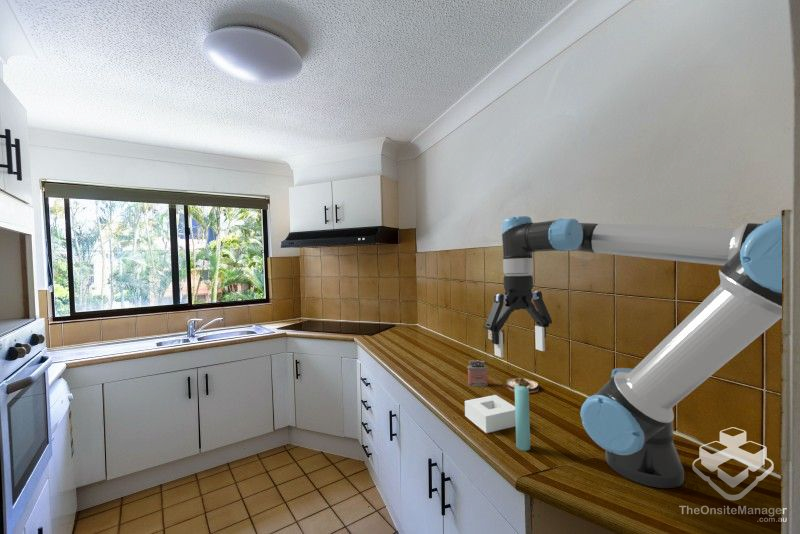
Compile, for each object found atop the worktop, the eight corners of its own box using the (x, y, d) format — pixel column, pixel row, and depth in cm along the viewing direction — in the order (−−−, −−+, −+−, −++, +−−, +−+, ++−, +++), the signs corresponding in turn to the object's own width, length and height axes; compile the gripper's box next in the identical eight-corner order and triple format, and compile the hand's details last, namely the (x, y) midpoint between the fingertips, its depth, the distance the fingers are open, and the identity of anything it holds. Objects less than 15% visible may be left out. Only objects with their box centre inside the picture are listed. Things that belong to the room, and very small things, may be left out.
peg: (533, 449, 88) (531, 389, 88) (522, 452, 87) (520, 391, 87) (524, 442, 92) (522, 385, 92) (513, 445, 91) (511, 387, 90)
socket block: (519, 425, 101) (519, 409, 101) (486, 433, 97) (485, 416, 97) (495, 409, 113) (495, 394, 113) (465, 415, 109) (464, 400, 109)
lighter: (487, 383, 137) (486, 359, 137) (488, 386, 134) (487, 361, 134) (467, 383, 138) (466, 359, 138) (468, 386, 134) (467, 361, 134)
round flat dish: (551, 392, 127) (551, 381, 126) (520, 399, 121) (519, 388, 121) (524, 379, 140) (524, 370, 140) (495, 385, 135) (494, 375, 135)
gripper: (544, 272, 97) (546, 344, 97) (470, 276, 88) (472, 355, 89) (564, 273, 90) (566, 350, 90) (486, 277, 81) (488, 362, 82)
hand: (520, 353), depth 89 cm, fingers open, 13 cm apart
